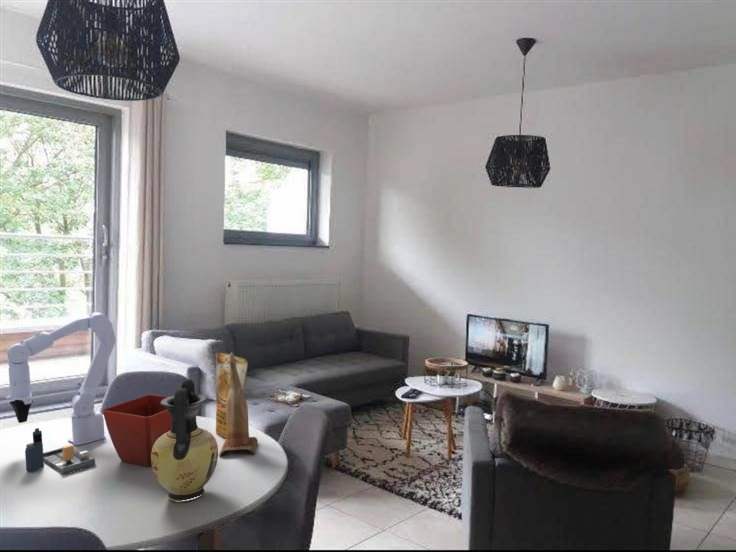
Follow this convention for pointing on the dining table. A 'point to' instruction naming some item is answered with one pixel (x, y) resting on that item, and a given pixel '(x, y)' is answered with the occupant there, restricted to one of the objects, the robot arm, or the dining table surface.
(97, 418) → the robot arm
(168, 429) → the plant pot
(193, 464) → the amphora
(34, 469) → the vaping device
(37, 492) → the dining table surface
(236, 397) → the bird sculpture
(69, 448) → the orange fader
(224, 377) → the pancake mix bag
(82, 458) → the mixer console
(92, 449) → the dining table surface
